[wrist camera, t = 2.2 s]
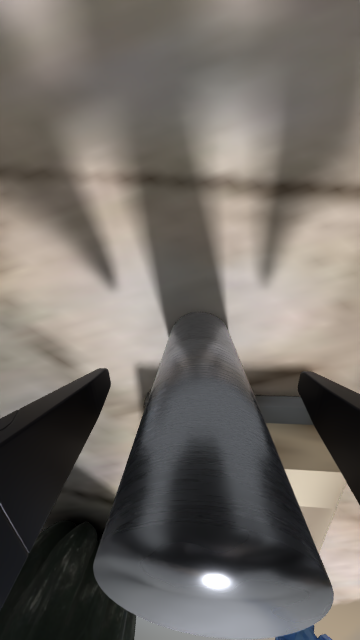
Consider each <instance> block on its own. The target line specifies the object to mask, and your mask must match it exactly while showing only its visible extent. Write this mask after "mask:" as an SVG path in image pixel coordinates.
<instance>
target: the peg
mask: <svg viewBox="0 0 360 640" xmlns="http://www.w3.org/2000/svg"><path fill="white" fill-rule="evenodd" d="M93 572H94V575H95V579H96V581H97V583H98V585H99V586H100V587H101V589H102V590H103V591H104V593H105V594H106V595H107V596H108V597H109V598H111V599H112V600H113V601H114V602H116V603H117V604H118V605H120V606H121V607H123V608H124V609H126V610H127V611H129V612H131V613H133V614H134V615H136V616H138V617H141V618H143V619H145V620H147V621H150V622H152V623H155V624H158V625H160V626H163V627H166V628H169V629H173V630H177V631H180V632H185V633H189V634H194V635H200V636H205V637H213V638H223V639H262V638H271V637H278V636H283V635H287V634H292V633H295V632H298V631H301V630H303V629H306V628H308V627H310V626H312V625H314V624H315V623H317V622H318V621H320V620H321V619H322V618H323V617H324V616H325V615H326V614H327V613H328V611H329V610H330V608H331V606H332V603H333V596H334V593H333V589H332V585H331V583H330V580H329V578H328V575H327V573H326V570H325V568H324V565H323V563H322V560H321V558H320V556H319V553H318V551H317V548H316V546H315V543H314V541H313V538H312V536H311V533H310V531H309V528H308V526H307V524H306V521H305V519H304V516H303V514H302V511H301V509H300V506H299V504H298V501H297V499H296V496H295V494H294V491H293V489H292V487H291V484H290V482H289V479H288V477H287V474H286V472H285V469H284V467H283V464H282V462H281V459H280V457H279V455H278V452H277V450H276V447H275V445H274V442H273V440H272V437H271V435H270V432H269V430H268V427H267V425H266V423H265V420H264V418H263V415H262V413H261V410H260V408H259V405H258V403H257V400H256V398H255V395H254V393H253V391H252V388H251V386H250V383H249V381H248V378H247V376H246V373H245V371H244V368H243V366H242V363H241V361H240V359H239V356H238V354H237V351H236V349H235V346H234V344H233V341H232V339H231V336H230V334H229V331H228V329H227V327H226V325H225V324H224V323H223V321H222V320H221V319H219V318H218V317H217V316H215V315H213V314H210V313H207V312H192V313H189V314H186V315H184V316H183V317H181V318H180V319H179V320H178V321H177V322H176V323H175V324H174V326H173V328H172V330H171V333H170V336H169V339H168V342H167V345H166V348H165V351H164V354H163V357H162V360H161V363H160V366H159V369H158V372H157V375H156V378H155V381H154V384H153V387H152V390H151V393H150V395H149V398H148V401H147V404H146V407H145V410H144V413H143V416H142V419H141V422H140V425H139V428H138V431H137V434H136V437H135V440H134V443H133V446H132V449H131V452H130V455H129V458H128V461H127V464H126V467H125V470H124V473H123V476H122V479H121V482H120V485H119V488H118V491H117V494H116V497H115V500H114V503H113V506H112V509H111V512H110V515H109V518H108V521H107V524H106V527H105V530H104V533H103V536H102V539H101V542H100V545H99V548H98V551H97V554H96V557H95V560H94V564H93Z"/></svg>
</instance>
